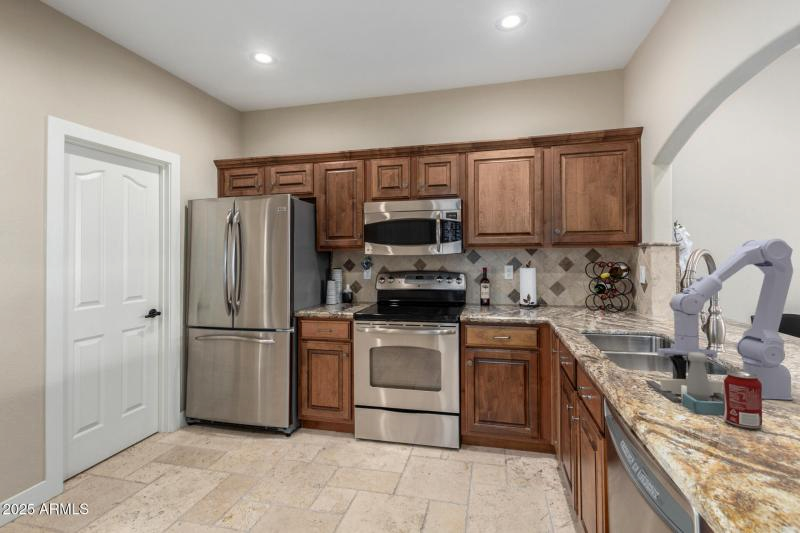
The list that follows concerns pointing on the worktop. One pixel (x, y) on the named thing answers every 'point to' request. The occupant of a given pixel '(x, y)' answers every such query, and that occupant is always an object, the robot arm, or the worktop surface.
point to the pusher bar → (676, 383)
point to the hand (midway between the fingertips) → (687, 381)
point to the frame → (701, 404)
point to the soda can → (742, 399)
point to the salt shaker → (698, 377)
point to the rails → (674, 397)
